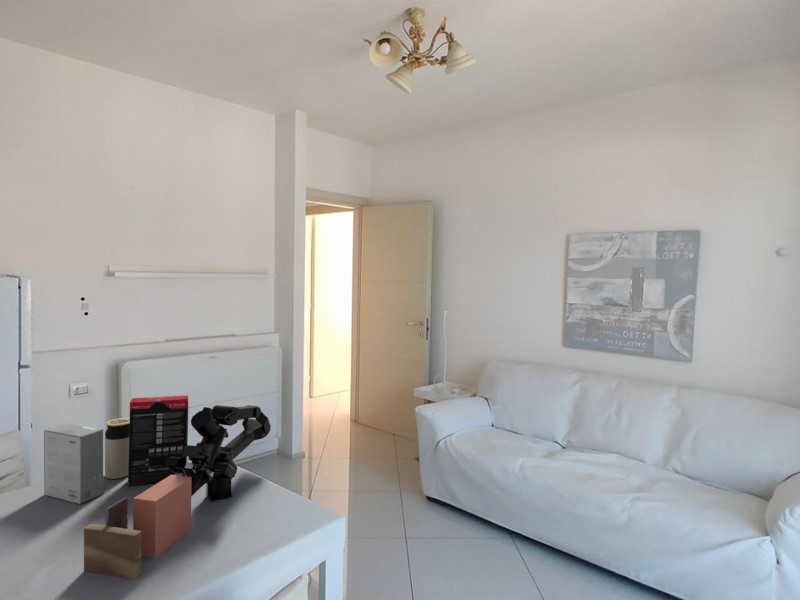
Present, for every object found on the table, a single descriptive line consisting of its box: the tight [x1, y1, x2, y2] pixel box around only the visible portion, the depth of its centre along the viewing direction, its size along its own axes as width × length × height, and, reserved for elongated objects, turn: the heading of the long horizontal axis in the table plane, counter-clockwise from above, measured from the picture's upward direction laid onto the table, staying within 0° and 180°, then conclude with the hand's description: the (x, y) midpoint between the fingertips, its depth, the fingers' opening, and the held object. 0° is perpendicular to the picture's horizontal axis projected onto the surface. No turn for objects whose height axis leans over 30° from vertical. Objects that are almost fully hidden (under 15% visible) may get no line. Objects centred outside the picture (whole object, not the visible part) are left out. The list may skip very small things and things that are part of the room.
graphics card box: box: [127, 394, 189, 486], centre depth 156 cm, size 17×7×27 cm, turn 114°
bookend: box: [105, 496, 129, 529], centre depth 113 cm, size 6×5×14 cm
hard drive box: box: [43, 423, 104, 505], centre depth 144 cm, size 16×8×20 cm, turn 71°
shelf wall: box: [83, 523, 142, 580], centre depth 108 cm, size 2×13×10 cm, turn 80°
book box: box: [132, 475, 192, 559], centre depth 121 cm, size 14×6×14 cm, turn 170°
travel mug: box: [104, 417, 130, 480], centre depth 159 cm, size 8×8×18 cm
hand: (187, 498), depth 131 cm, fingers closed
